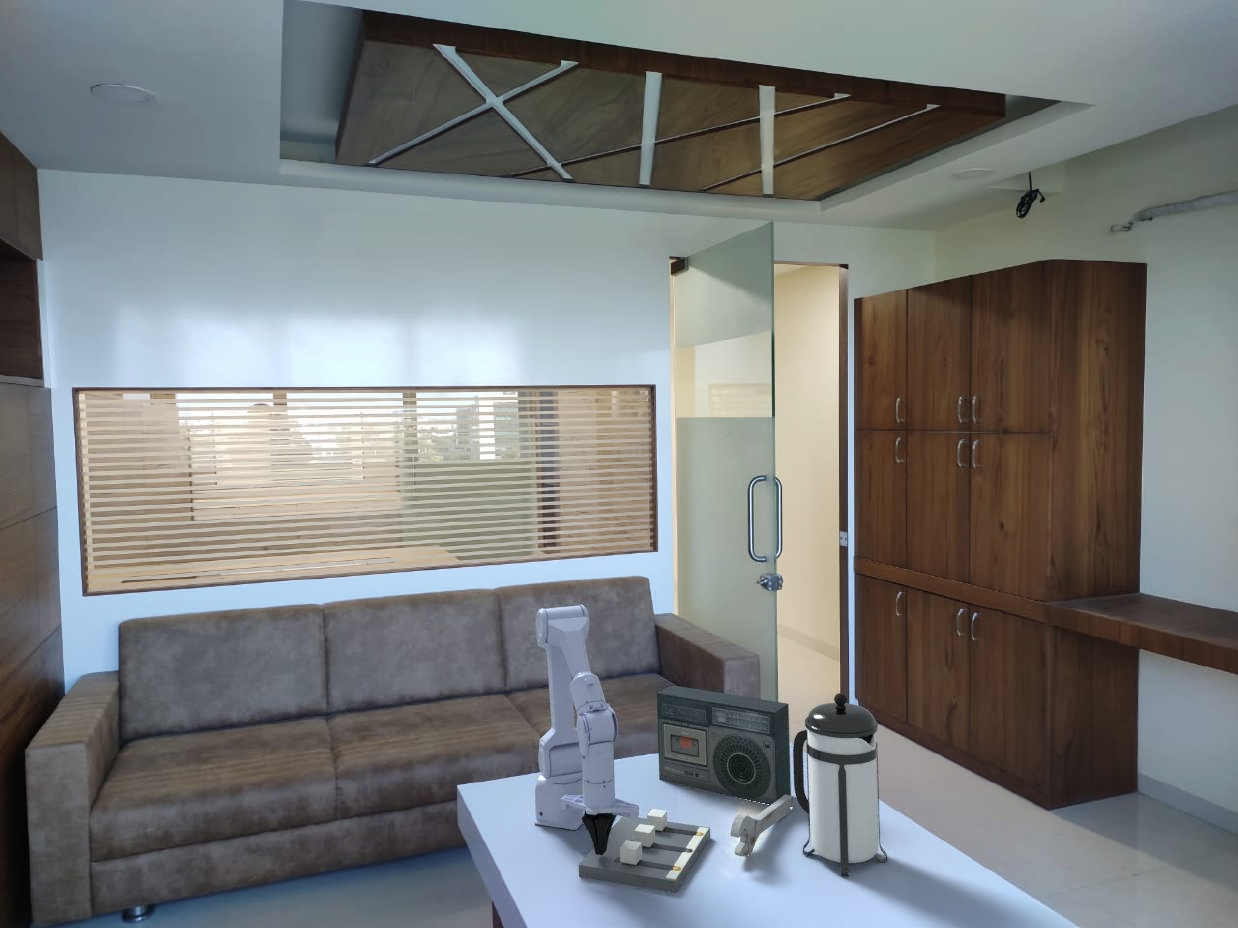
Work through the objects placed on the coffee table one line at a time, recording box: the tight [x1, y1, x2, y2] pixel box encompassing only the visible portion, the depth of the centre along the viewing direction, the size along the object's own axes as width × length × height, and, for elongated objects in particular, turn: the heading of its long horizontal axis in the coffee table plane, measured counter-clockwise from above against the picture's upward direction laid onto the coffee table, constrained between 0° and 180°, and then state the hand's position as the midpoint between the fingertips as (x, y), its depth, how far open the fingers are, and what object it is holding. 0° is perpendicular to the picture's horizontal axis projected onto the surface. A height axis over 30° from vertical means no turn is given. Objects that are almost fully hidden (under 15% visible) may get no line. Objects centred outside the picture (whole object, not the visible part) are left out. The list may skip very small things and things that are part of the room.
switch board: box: [578, 816, 711, 894], centre depth 158 cm, size 18×22×2 cm
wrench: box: [730, 794, 796, 857], centre depth 165 cm, size 8×2×30 cm
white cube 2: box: [634, 824, 655, 847], centre depth 158 cm, size 3×3×3 cm
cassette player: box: [656, 685, 792, 805], centre depth 188 cm, size 29×7×20 cm, turn 55°
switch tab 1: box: [620, 840, 642, 865], centre depth 151 cm, size 3×3×3 cm
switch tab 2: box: [646, 808, 668, 831], centre depth 164 cm, size 3×3×3 cm
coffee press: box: [792, 692, 888, 877], centre depth 155 cm, size 17×16×30 cm
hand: (601, 852), depth 154 cm, fingers closed
